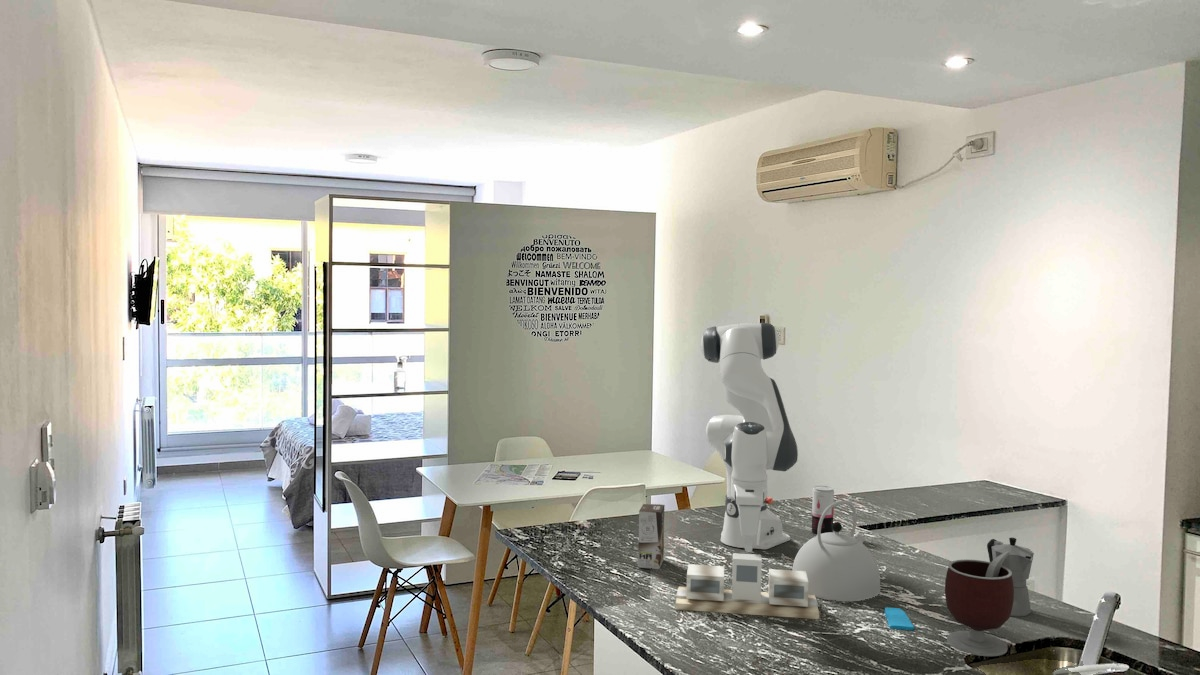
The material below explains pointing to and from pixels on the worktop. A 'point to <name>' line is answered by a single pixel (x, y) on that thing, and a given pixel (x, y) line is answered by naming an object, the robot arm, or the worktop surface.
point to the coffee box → (651, 536)
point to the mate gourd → (979, 603)
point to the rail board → (780, 600)
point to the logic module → (746, 576)
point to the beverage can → (822, 508)
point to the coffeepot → (1015, 571)
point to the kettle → (838, 564)
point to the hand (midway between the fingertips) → (748, 544)
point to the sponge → (898, 619)
